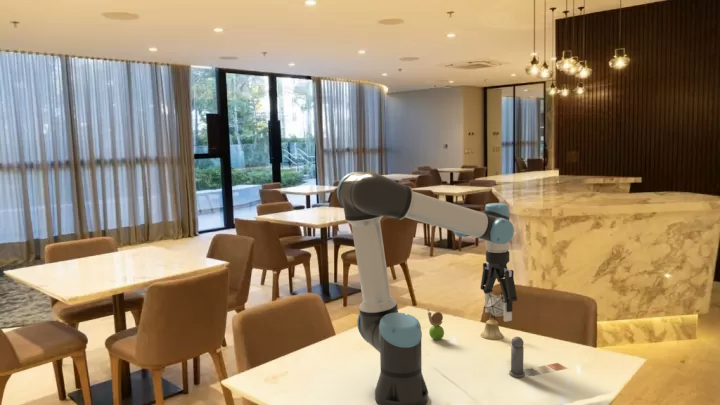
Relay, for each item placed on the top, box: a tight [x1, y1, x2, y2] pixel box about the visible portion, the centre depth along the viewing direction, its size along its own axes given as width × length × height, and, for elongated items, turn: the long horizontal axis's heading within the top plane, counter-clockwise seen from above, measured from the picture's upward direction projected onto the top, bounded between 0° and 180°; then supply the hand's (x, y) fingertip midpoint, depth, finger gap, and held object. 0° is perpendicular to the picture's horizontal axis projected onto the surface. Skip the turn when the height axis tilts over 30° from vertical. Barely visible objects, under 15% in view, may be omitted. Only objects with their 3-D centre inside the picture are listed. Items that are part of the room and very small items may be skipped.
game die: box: [483, 291, 514, 320], centre depth 179 cm, size 9×8×10 cm
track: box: [506, 362, 568, 380], centre depth 168 cm, size 21×7×1 cm, turn 110°
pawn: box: [508, 336, 526, 379], centre depth 165 cm, size 5×5×12 cm
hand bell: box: [480, 293, 504, 341], centre depth 201 cm, size 8×8×16 cm
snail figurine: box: [427, 308, 445, 341], centre depth 199 cm, size 5×6×12 cm
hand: (498, 316), depth 180 cm, fingers closed on game die, 10 cm apart
